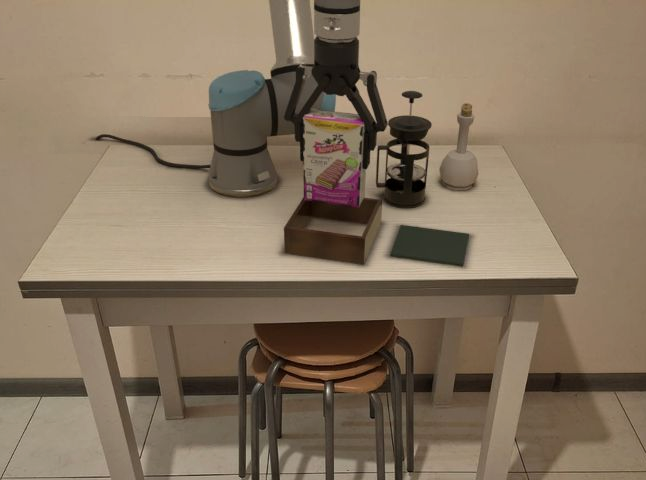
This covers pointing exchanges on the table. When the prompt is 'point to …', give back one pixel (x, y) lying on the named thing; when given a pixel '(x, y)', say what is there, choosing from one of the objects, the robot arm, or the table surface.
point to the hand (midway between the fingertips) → (335, 162)
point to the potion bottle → (460, 156)
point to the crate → (329, 242)
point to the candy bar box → (333, 157)
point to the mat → (430, 245)
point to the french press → (405, 159)
